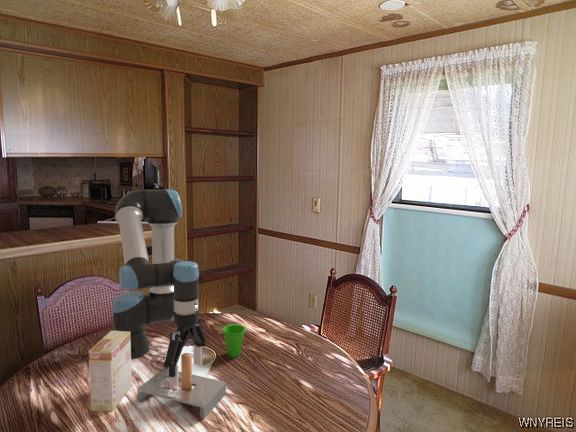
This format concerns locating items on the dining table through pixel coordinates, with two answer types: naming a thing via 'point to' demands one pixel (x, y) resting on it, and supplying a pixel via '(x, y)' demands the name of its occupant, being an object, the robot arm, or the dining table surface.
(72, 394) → the dining table surface
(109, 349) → the coffeecake box
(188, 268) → the robot arm
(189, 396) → the keyhole plate
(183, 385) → the headed peg
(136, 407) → the dining table surface
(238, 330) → the cup
